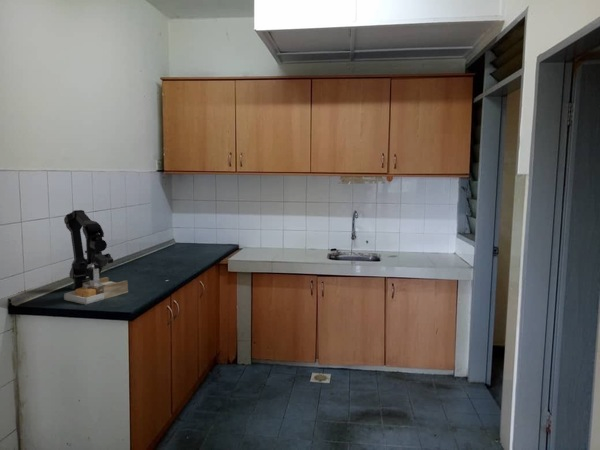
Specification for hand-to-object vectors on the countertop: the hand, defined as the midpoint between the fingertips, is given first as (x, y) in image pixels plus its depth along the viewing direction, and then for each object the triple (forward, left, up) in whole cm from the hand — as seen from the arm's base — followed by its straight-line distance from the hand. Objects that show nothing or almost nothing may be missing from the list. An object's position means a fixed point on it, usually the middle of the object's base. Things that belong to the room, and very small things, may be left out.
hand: (94, 279), depth 213 cm
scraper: (0, 0, -4) cm, 4 cm away
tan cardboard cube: (+3, -3, -6) cm, 7 cm away
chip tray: (0, -6, -8) cm, 10 cm away
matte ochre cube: (-3, -3, -6) cm, 7 cm away
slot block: (0, +6, -8) cm, 10 cm away
